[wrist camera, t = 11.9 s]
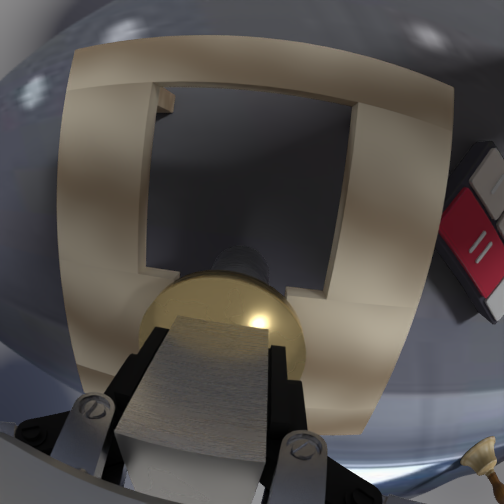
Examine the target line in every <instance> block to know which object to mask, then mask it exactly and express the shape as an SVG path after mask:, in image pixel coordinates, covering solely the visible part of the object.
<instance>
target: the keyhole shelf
mask: <svg viewBox="0 0 504 504" xmlns="http://www.w3.org/2000/svg"><path fill="white" fill-rule="evenodd" d="M163 87H204V88H225V89H239V90H251V91H261V92H270V93H278V94H285V95H292V96H299V97H305V98H311V99H317V100H322V101H328V102H333V103H338V104H342V105H347V106H352V112H351V122H350V131H349V140H348V148H347V156H346V163H345V171H344V178H343V184H342V191H341V197H340V204H339V210H338V216H337V221H336V227H335V233H334V238H333V243H332V249H331V254H330V259H329V264H328V269H327V274H326V278H325V283H324V288H323V291H321V290H313V289H304V288H296V287H287V286H286V290H285V296H284V298H285V299H286V300H287V301H288V302H289V303H290V305H291V306H292V307H293V309H294V310H295V312H296V314H297V316H298V318H299V320H300V323H301V326H302V329H303V335H304V341H305V347H306V362H305V367H304V371H303V373H302V376H301V378H300V380H299V381H302V385H303V393H304V402H305V410H306V419H307V428H308V431H311V432H314V433H316V434H318V435H358V434H361V433H362V432H363V430H364V428H365V426H366V424H367V422H368V421H369V419H370V417H371V415H372V413H373V411H374V409H375V407H376V405H377V403H378V401H379V399H380V397H381V395H382V393H383V391H384V389H385V387H386V385H387V383H388V380H389V378H390V376H391V374H392V371H393V369H394V367H395V365H396V362H397V360H398V357H399V355H400V353H401V350H402V348H403V345H404V343H405V340H406V337H407V335H408V332H409V329H410V327H411V324H412V321H413V318H414V316H415V313H416V310H417V307H418V304H419V301H420V297H421V294H422V291H423V288H424V285H425V281H426V278H427V274H428V271H429V267H430V263H431V259H432V256H433V252H434V248H435V243H436V239H437V235H438V230H439V225H440V221H441V216H442V210H443V205H444V199H445V193H446V187H447V180H448V173H449V165H450V156H451V145H452V133H453V115H454V87H452V86H449V85H447V84H445V83H442V82H440V81H438V80H435V79H433V78H430V77H428V76H425V75H423V74H420V73H417V72H414V71H412V70H409V69H406V68H403V67H400V66H397V65H394V64H391V63H388V62H384V61H381V60H378V59H374V58H371V57H367V56H363V55H359V54H355V53H351V52H347V51H343V50H338V49H334V48H329V47H324V46H318V45H313V44H307V43H301V42H294V41H287V40H279V39H270V38H259V37H246V36H225V35H187V36H166V37H153V38H143V39H134V40H127V41H119V42H113V43H107V44H101V45H96V46H91V47H86V48H81V49H77V50H75V53H74V57H73V62H72V66H71V71H70V75H69V80H68V85H67V91H66V97H65V103H64V109H63V116H62V124H61V133H60V143H59V155H58V172H57V233H58V250H59V263H60V273H61V282H62V290H63V297H64V304H65V310H66V316H67V322H68V328H69V333H70V338H71V343H72V347H73V352H74V356H75V360H76V364H77V368H78V372H79V376H80V380H81V383H82V387H83V390H84V392H85V393H90V392H98V393H102V394H104V392H105V391H106V389H107V387H108V386H109V384H110V383H111V381H112V380H113V378H114V377H115V375H116V374H117V372H118V371H119V369H120V368H121V366H122V365H123V363H124V362H125V360H126V359H127V357H128V356H129V355H130V354H132V353H133V354H138V352H139V350H140V348H139V329H140V324H141V321H142V318H143V316H144V314H145V312H146V311H147V309H148V308H149V306H150V305H151V304H152V303H153V301H154V300H155V299H156V297H157V296H158V295H159V294H160V292H161V291H162V290H163V289H165V288H166V287H167V286H168V285H169V284H171V283H172V282H174V281H175V280H177V279H179V278H180V272H177V271H171V270H164V269H157V268H151V267H146V233H147V208H148V191H149V177H150V165H151V154H152V145H153V136H154V127H155V119H156V113H173V108H174V101H175V95H174V94H172V93H171V92H169V91H168V90H166V89H165V88H163Z"/></svg>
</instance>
